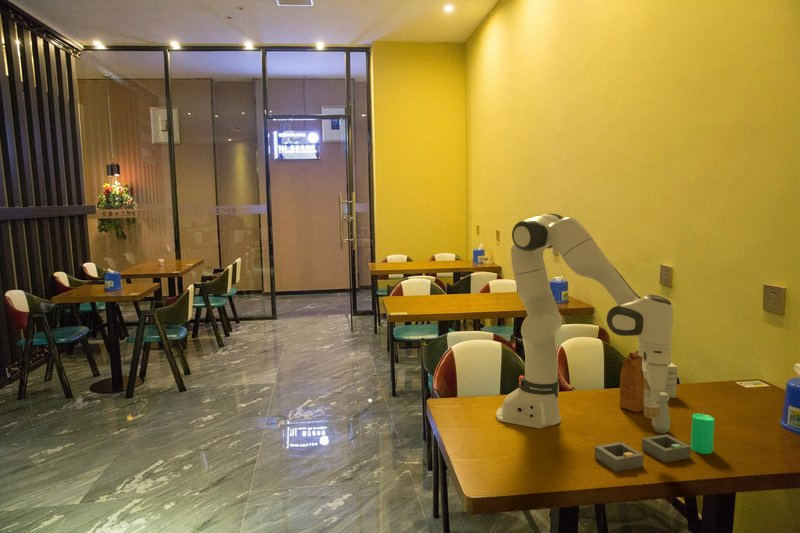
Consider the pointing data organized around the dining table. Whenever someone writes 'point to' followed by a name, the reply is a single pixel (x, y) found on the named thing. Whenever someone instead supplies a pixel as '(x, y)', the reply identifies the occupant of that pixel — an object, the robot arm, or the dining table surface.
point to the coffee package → (632, 383)
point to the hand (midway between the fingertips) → (651, 396)
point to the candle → (702, 433)
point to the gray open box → (626, 456)
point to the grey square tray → (666, 448)
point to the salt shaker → (662, 415)
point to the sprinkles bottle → (650, 401)
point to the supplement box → (671, 381)
